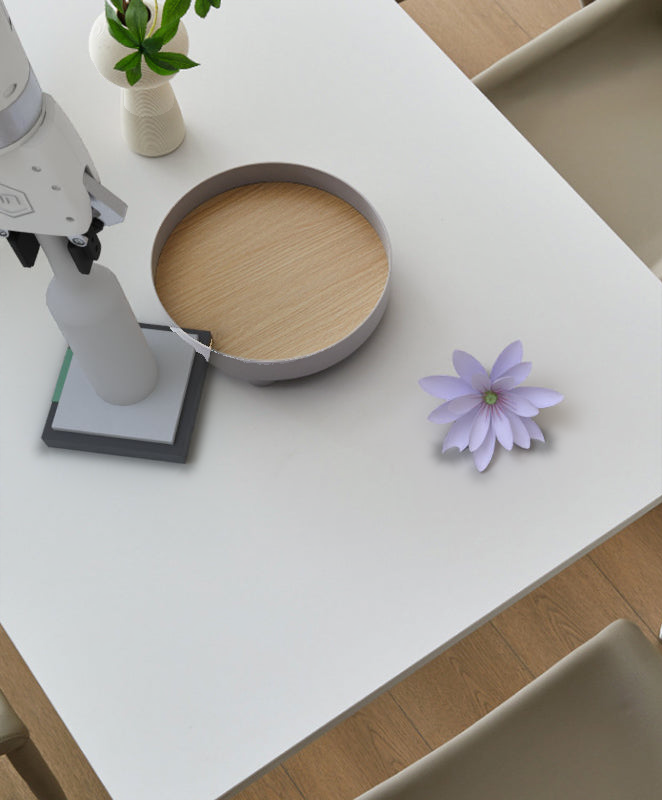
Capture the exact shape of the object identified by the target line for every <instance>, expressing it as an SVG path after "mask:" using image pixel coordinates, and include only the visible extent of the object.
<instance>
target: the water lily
mask: <svg viewBox="0 0 662 800" xmlns="http://www.w3.org/2000/svg"><path fill="white" fill-rule="evenodd" d="M523 356H524V347H523V342H522V341H521V339H516V340H514V341H512V342H510V343H509V344H508V345H507V346H505V348H504V349H503V350H502V351H501V352H500V354H499V355H498V357H497V358H496V360H495V362H494V363H493V365H492V367H491V369H490V374H489V376H488V372H487V370H486V368H485V367H484V366H483V365H482V363H481V362H480V361H479V360H478V359H477V358H476V357H475V356H473V355H472V354H471V353H469V352H467V351H465V350H462V349H457V348H456V349H454V350H453V351H452V355H451V361H452V365H453V368H454V370H455V372H456V373H457V375H458V376H455V375H445V374H434V375H433V374H432V375H426V376H423V377H421V378H419V379H418V380H417V384H418V385H419V387H420V388H421V389H422V390H423V391H424V392H425V393H427V394H428V395H430V396H432V397H434V398H437V399H441V400H445V401H444V402H442V403H440V404H438V406H437V407H435V408H434V409H433V410H432V411H431V412H430V413H429V414H428V415H427V417H426V420H427V421H428V422H430V423H433V424H438V425H439V424H441V425H442V424H449V423H451V422H454V423H453V424H452V426H451V427H450V428H449V430H448V432H447V435H446V436H445V439H444V440H443V444H442V450H441V453H442V454H444V453H445V452H446V451H447V450H448V449H450V448H453V447H456V448H458V449H459V453H461V452H462V451H463V450H465V449H466V448H467V447H468V449H469V452H470V453H472V455H473V461H474V465H475V467H476V470H478V472H480V473H481V472H483V471H484V470H485V469H486V468H487V467H488V466H489V464H490V462H491V461H492V458H493V455H494V451H495V447H496V439H497V441H498V442H499V444H500V445H501V446H502V447H503V448H504V449H505V450H507V451H512V450H513V446H514V444H515V445H517V446H519V448H523V449H526V450H528V449H530V447H531V439H534V440H538V441H540V442H542V443H546V441H545V437H544V434H543V432H542V430H541V428H540V427H539V426H538V424H537V423H536V421H534V420H533V419H532V417H535V416H537V415H539V413H540V410H539V409H547V408H549V407H554V406H556V405H558V404H559V403H561V402H563V400H564V399H565V396H564V395H563V394H562V393H560V392H559V391H557V390H554V389H551V388H548V387H541V386H519V385H521V383H523V382H524V381H525V380H527V378H528V377H529V375H530V373H531V372H532V368H533V363H532V361H522V360H523V358H524V357H523Z"/></svg>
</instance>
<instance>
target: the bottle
mask: <svg viewBox="0 0 662 800" xmlns="http://www.w3.org/2000/svg"><path fill="white" fill-rule="evenodd" d="M34 234H35V236H36V238H37V240H38V242H39V244H40V245H41V246H40V248H41V249H42V252H43V253H44V255H45V257H46V259H47V261H48V264H49V266H50V268H51V271H52V273H53V277H52V279H51V280H50V281H49V283H48V286H47V290H46V293H45V302H46V307H47V309H48V311H49V314H50V315H51V317H52V319H53V321H54V322H55V324H56V325H57V327H58V330H59V331H60V333H61V334H62V336H63V338H64V340H65V341H66V343H67V345H68V347H69V346H70V348H71V350H72V352H73V353H74V355H75V357H76V359H77V360H78V362H79V364H80V366H81V367H82V369H83V371H84V373H85V374H86V376H87V378H88V380H89V381H90V383H91V385H92V386H93V388H94V389H95V391H96V393H97V395H98V396H99V397H101V398H102V399H103V400H104V401H106V402H108V403H110V404H113V405H119V406H126V405H132V404H135V403H137V402H140V401H142V400H143V399H145V398H146V397H147V396H148V395H149V394H150V393H151V392H152V391H153V389H154V388H155V386H156V384H157V381H158V377H159V371H158V365H157V363H156V361H155V359H154V356H153V354H152V352H151V349H150V347H149V345H148V343H147V341H146V339H145V336H144V334H143V332H142V330H141V328H140V326H139V324H138V323H139V321H138V320H137V317H136V315H135V312H134V311H133V308H132V306H131V304H130V302H129V300H128V298H127V296H126V294H125V292H124V289H123V287H122V285H121V283H120V281H119V279H118V278H117V275H116V273H114V271H112V270H111V269H110V268H109V267H107V266H105V265H103V264H100V263H97V262H95V261H93V264H92V267H91V271H90V274H89V275H85V274H81V272H79V271H78V269H77V267H76V265H75V263H74V261H73V259H72V257H71V255H70V253H69V251H68V249H67V244H68V241H69V238H68V237H67V236H57V235H47V234H37V233H34Z"/></svg>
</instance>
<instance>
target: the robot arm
mask: <svg viewBox="0 0 662 800" xmlns="http://www.w3.org/2000/svg"><path fill="white" fill-rule="evenodd" d="M128 208H129V205H128V204H127V203H126V202H125V201H123V200H122V199H121V198H119V197H118V196H117V195H115V194H114V193H113V192H111V190H109V189H108V188H106V187H105V186H104V185H103V184H102V181H101V178H100V174H99V172H98V169H97V167H96V165H95V162H94V160H93V158H92V156H91V154H90V152H89V150H88V148H87V147H86V145H85V142H84V141H83V138H81V135H80V134H79V132H78V131H77V128H76V127H75V126H74V124H73V122H72V121H71V120H70V118H69V117H68V115H67V114H66V112H65V111H64V110H63V109H62V107H61V106H60V105H59V102H57V101H56V99H55V98H54V97H53V96H52V95H51V94H49V93H47V92H44V91H43V90H42V87H41V84H40V82H39V80H38V77H37V76H36V73H35V71H34V69H33V67H32V64H31V62H30V60H29V58H28V55H27V53H26V50H25V49H24V46H23V43H22V41H21V40H20V37H19V35H18V33H17V30H16V27H15V25H14V23H13V21H12V19H11V16H10V14H9V11H8V10H7V7H6V5H5V2H4V0H0V238H5V239H6V241H7V242H8V244H9V246H10V247H11V249H12V251H13V253H14V254H15V256H16V258H17V259H18V261H19V263H20V264H21V266H22V267H23V268H27V269H32V268H33V267H34V266H35V264H36V261H37V258H38V256H39V255H38V254H39V252H40V248H41V245H40V244H39V242H38V240H37V238H36V236H35V234H34V233H37V234H47V235H57V236H67V237H68V238H69V241H68V244H67V249H68V251H69V253H70V255H71V257H72V259H73V261H74V263H75V265H76V267H77V269H78V271H79V272H81V274H85V275H89V274H90V271H91V267H92V264H93V262H97V261H99V259H100V257H101V253H102V243H101V240H100V238H99V236H98V234H99V233H101V232H103V230H104V227H108V228H109V227H111V226H115V225H119V224H121V223H123V222H125V218H126V216H127V215H126V214H127V211H128Z"/></svg>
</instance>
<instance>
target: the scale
mask: <svg viewBox="0 0 662 800" xmlns="http://www.w3.org/2000/svg"><path fill="white" fill-rule="evenodd" d="M138 324H139V326H140V328H141V330H142V332H143V334H144V336H145V339H146V341H147V343H148V345H149V347H150V349H151V352H152V354H153V356H154V359H155V361H156V363H157V365H158V371H159V377H158V381H157V384H156V386H155V388H154V389H153V391H152V392H151V393H150V394H149V395H148V396H147V397H146V398H145V399H143V400H142V401H140V402H137V403H135V404H132V405H126V406H119V405H113V404H110V403H108V402H106V401H104V400H103V399H102V398H101V397H99V396H98V395H97V393H96V391H95V389H94V388H93V386H92V385H91V383H90V381H89V380H88V378H87V376H86V374H85V373H84V371H83V369H82V367H81V366H80V364H79V362H78V360H77V359H76V357H75V355H74V353H73V352H72V350H71V348H70V346H69V345H68V346H67V348H66V351H65V355H64V358H63V362H62V365H61V368H60V370H59V374H58V378H57V380H56V384H55V389H54V390H53V394H52V398H51V404H50V407H49V410H48V414H47V417H46V420H45V424H44V427H43V430H42V433H41V437H40V440H42V441H43V443H44V444H45V445H46V446H47V448H54V449H62V450H69V451H79V452H84V453H85V452H86V453H95V454H101V455H110V456H117V457H118V456H119V457H127V458H134V459H142V460H149V461H159V462H166V463H175V464H181V465H185V464H186V462H187V458H188V453H189V450H190V449H189V448H190V445H191V441H192V436H193V432H194V429H195V424H196V419H197V415H198V411H199V406H200V402H201V398H202V393H203V389H204V384H205V380H206V377H207V372H208V368H209V363H210V361H209V362H207V361H206V359H205V357H204V356H203V355H202V354H200V353H198V352H196V350H195V348H194V347H193V346H192V345H190V344H189V343H187V342H186V341H185V340H183V339H182V338H181V337H180V336H179V335H178V334H177V333H176V332H173V331H172V330H171V329H170V327H169V326H170V325H161V324H154V323H146V322H138ZM180 328H181V329H182V330H183V331H184V332H186V333H187V334H188V335H189V336H190V337H192V338H193V339H195V340H197V341H199V342H201V343H202V344H204V345H206V346H208V347H209V346H210V343H211V339H212V338H213V334H212V332H211V331H210V330H203V329H195V328H188V327H180ZM213 341H214V340H213ZM213 341H212V342H213ZM213 343H214V342H213ZM211 346H212V345H211Z"/></svg>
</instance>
